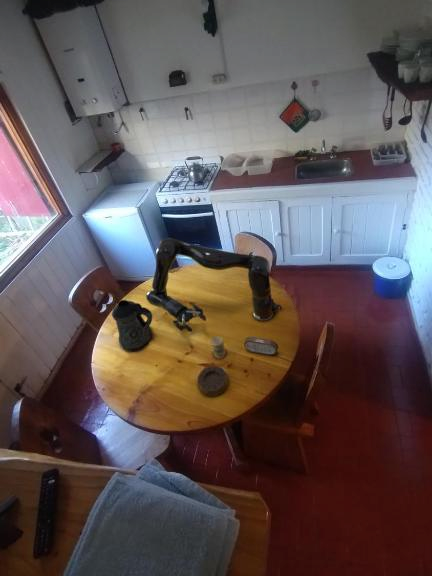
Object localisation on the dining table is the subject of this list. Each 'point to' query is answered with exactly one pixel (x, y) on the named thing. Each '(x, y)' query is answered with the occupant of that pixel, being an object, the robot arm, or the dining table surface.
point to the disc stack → (218, 347)
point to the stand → (212, 381)
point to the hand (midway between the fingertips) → (198, 324)
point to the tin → (261, 345)
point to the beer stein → (132, 325)
